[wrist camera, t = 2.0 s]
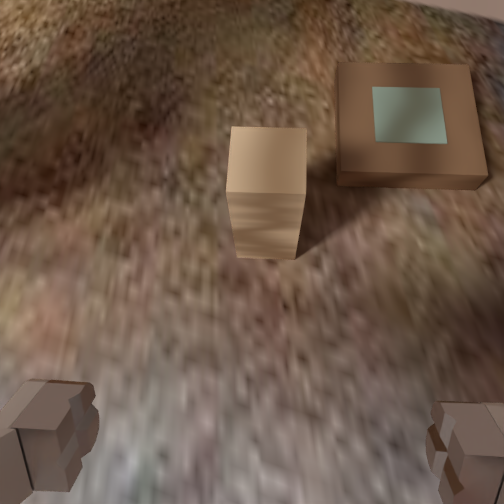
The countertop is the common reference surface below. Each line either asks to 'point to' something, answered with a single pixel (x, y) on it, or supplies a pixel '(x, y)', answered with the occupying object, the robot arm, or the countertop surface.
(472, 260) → the countertop surface
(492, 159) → the countertop surface
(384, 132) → the slab
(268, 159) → the pillar
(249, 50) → the countertop surface
